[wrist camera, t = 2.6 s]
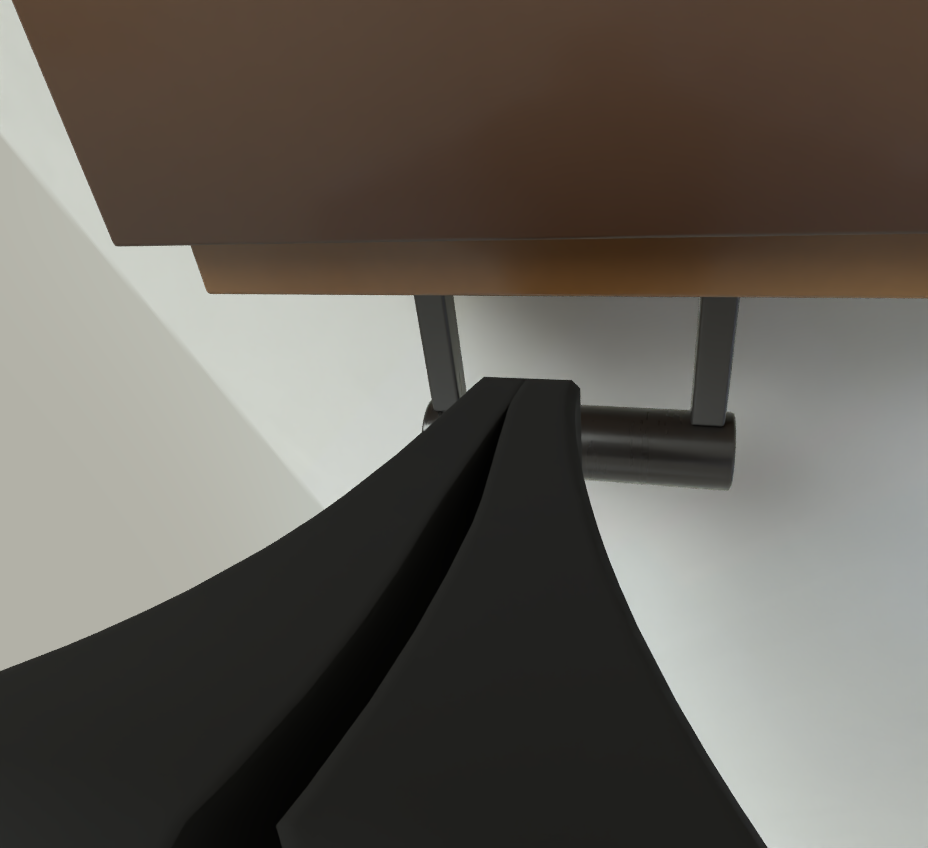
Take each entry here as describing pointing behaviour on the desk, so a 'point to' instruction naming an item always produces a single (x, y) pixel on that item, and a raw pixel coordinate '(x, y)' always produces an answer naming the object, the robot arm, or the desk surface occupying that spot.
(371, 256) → the drawer
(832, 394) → the desk surface
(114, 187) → the cabinet
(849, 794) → the desk surface
